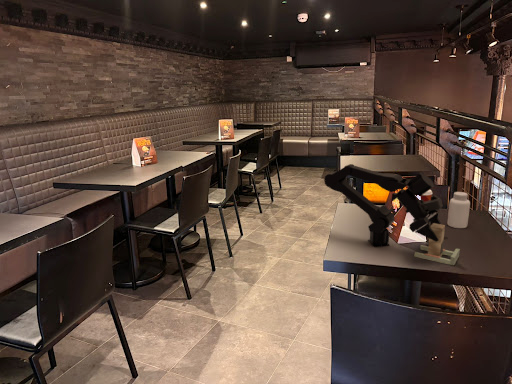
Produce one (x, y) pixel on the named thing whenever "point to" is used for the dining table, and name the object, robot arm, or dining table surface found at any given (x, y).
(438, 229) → the birch finger
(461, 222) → the pill bottle
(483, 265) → the dining table surface
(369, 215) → the robot arm
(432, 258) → the sage rail
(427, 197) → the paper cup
